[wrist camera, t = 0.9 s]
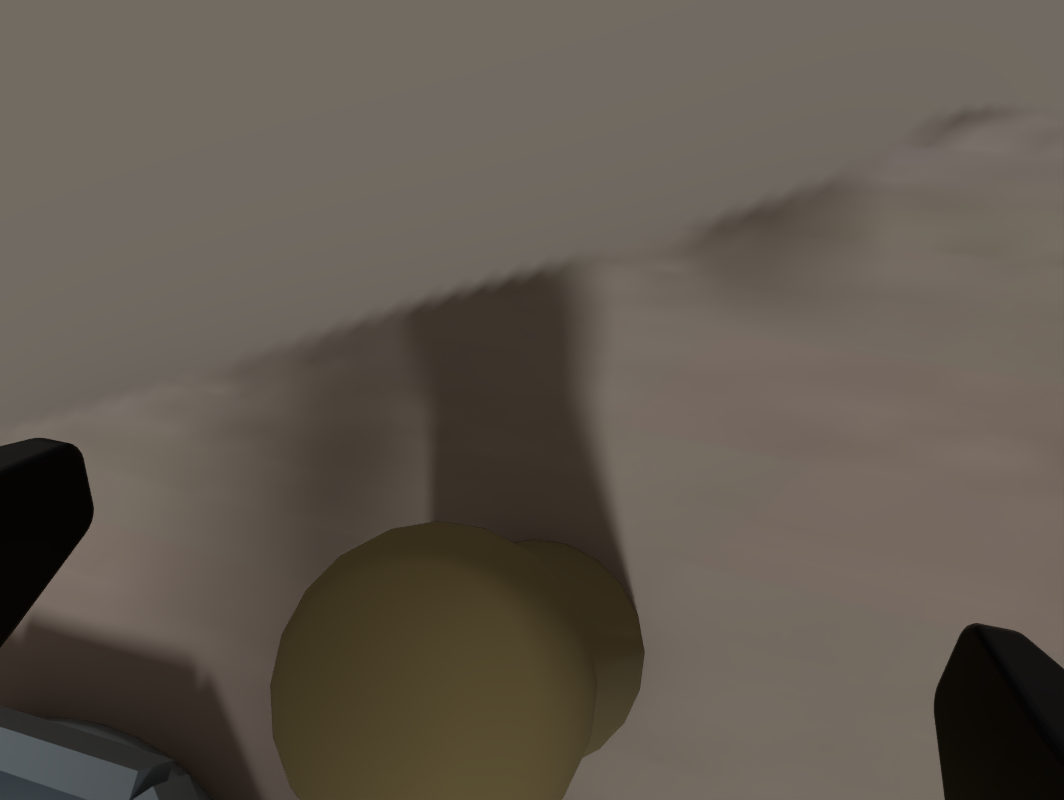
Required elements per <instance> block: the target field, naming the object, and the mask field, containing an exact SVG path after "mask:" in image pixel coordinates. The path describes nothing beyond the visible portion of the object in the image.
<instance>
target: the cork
mask: <svg viewBox="0 0 1064 800" xmlns="http://www.w3.org/2000/svg"><path fill="white" fill-rule="evenodd" d="M643 660H644V647H643V642H642V636H641V630H640V625H639V619H638V615H637V614H636V612H635V610H634V608H633V606H632V604H631V602H630V600H629V598H628V596H627V594H626V592H625V590H624V588H623V586H622V585H621V584H620V583H619V582H618V581H617V580H616V579H615V578H614V576H613V575H612V574H611V573H610V572H609V571H608V570H607V569H606V568H605V567H604V566H603V565H602V564H601V563H600V562H599V561H598V560H596V559H594V558H592V557H590V556H588V555H587V554H585V553H583V552H581V551H579V550H577V549H575V548H573V547H571V546H569V545H567V544H561V543H555V542H548V541H542V540H536V539H534V540H528V541H522V542H516V543H512V542H510V541H508V540H506V539H504V538H503V537H501V536H499V535H497V534H495V533H493V532H491V531H489V530H487V529H485V528H479V527H472V526H466V525H460V524H453V523H447V522H441V521H435V522H430V523H424V524H418V525H412V526H406V527H401V528H395V529H391V530H389V531H387V532H385V533H383V534H381V535H379V536H377V537H375V538H373V539H371V540H369V541H368V542H366V543H364V544H362V545H360V546H358V547H356V548H354V549H352V550H351V551H349V552H347V553H345V554H343V555H341V556H340V557H339V558H338V559H337V560H336V561H335V562H334V563H333V564H332V565H331V566H330V567H329V568H328V569H327V570H326V571H325V572H324V573H323V574H322V575H321V576H320V577H319V578H318V579H317V580H316V581H315V582H314V583H313V584H312V585H311V586H310V587H309V588H308V589H307V590H306V591H305V593H304V595H303V597H302V599H301V600H300V602H299V604H298V606H297V608H296V610H295V611H294V613H293V615H292V617H291V619H290V621H289V622H288V624H287V626H286V628H285V630H284V632H283V634H282V636H281V641H280V645H279V649H278V654H277V658H276V663H275V667H274V671H273V676H272V680H271V685H270V687H271V707H272V726H273V739H274V742H275V744H276V747H277V750H278V753H279V756H280V759H281V762H282V765H283V768H284V770H285V773H286V776H287V779H288V782H289V785H290V787H291V789H292V790H293V791H294V793H295V794H296V796H297V797H298V798H299V800H562V799H563V797H564V795H565V793H566V791H567V789H568V786H569V784H570V782H571V780H572V778H573V776H574V774H575V772H576V769H577V767H578V765H579V763H580V761H581V759H582V758H583V757H585V756H586V755H588V754H590V753H592V752H594V751H596V750H598V749H600V748H601V747H602V746H603V745H604V743H605V742H606V741H607V740H608V739H609V738H610V737H611V736H612V735H613V734H614V733H615V732H616V731H617V730H618V729H619V728H620V727H621V726H622V725H623V723H624V722H625V720H626V718H627V716H628V714H629V711H630V709H631V707H632V705H633V703H634V701H635V699H636V696H637V694H638V692H639V690H640V684H641V676H642V668H643Z"/></svg>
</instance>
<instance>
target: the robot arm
mask: <svg viewBox="0 0 1064 800" xmlns="http://www.w3.org/2000/svg"><path fill="white" fill-rule="evenodd" d="M93 513H94V506H93V501H92V496H91V491H90V486H89V482H88V477H87V472H86V468H85V463H84V458H83V455H82V453H81V452H80V450H79V449H78V448H77V447H76V446H74V445H73V444H70V443H66V442H61V441H56V440H51V439H46V438H33V439H28V440H24V441H20V442H16V443H12V444H8V445H4V446H0V647H1V646H2V645H3V644H4V642H5V641H6V640H7V638H8V637H9V636H10V635H11V633H12V632H13V631H14V629H15V628H16V627H17V625H18V624H19V623H20V621H21V620H22V619H23V617H24V616H25V615H26V613H27V612H28V611H29V609H30V608H31V607H32V605H33V604H34V602H35V601H36V600H37V598H38V597H39V596H40V594H41V593H42V592H43V590H44V589H45V588H46V586H47V585H48V583H49V582H50V581H51V579H52V578H53V577H54V575H55V574H56V573H57V571H58V570H59V569H60V567H61V566H62V565H63V563H64V562H65V560H66V559H67V558H68V556H69V555H70V554H71V552H72V551H73V550H74V548H75V547H76V546H77V544H78V543H79V542H80V540H81V539H82V537H83V536H84V535H85V533H86V532H87V530H88V529H89V527H90V524H91V522H92V519H93ZM934 717H935V725H936V733H937V741H938V749H939V757H940V765H941V773H942V781H943V789H944V797H945V800H1064V669H1063V668H1062V667H1061V666H1060V665H1059V664H1057V663H1056V662H1055V661H1054V660H1053V659H1052V658H1050V657H1049V656H1048V655H1047V654H1046V653H1044V652H1043V651H1042V650H1041V649H1040V648H1039V647H1037V646H1036V645H1035V644H1034V643H1033V642H1031V641H1030V640H1029V639H1028V638H1027V637H1025V636H1024V635H1023V634H1021V633H1019V632H1017V631H1014V630H1009V629H1004V628H999V627H994V626H989V625H984V624H979V623H974V624H971V625H968V626H967V627H966V628H965V629H964V630H963V631H962V633H961V634H960V636H959V638H958V640H957V643H956V645H955V647H954V649H953V652H952V654H951V656H950V658H949V661H948V663H947V665H946V667H945V670H944V672H943V674H942V676H941V679H940V681H939V683H938V686H937V688H936V693H935V698H934Z"/></svg>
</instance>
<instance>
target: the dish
mask: <svg viewBox="0 0 1064 800" xmlns="http://www.w3.org/2000/svg"><path fill="white" fill-rule="evenodd" d="M173 761H174V760H173V759H170V758H168V757H167V756H166V755H165V754H163V753H161V752H160V751H158V750H156V749H155V748H153V747H151V746H150V745H148V744H146V743H145V742H143V741H141V740H140V739H138V738H136V737H134V736H131V735H129V734H126V733H124V732H121V731H119V730H116V729H114V728H111V727H109V726H106V725H101V724H97V723H92V722H88V721H83V720H79V719H67V718H49V717H45V718H39V717H36V716H33V715H30V714H26V713H23V712H20V711H17V710H14V709H11V708H7V707H4V706H1V705H0V800H212V799H211V798H210V797H209V796H208V795H207V794H206V793H205V792H204V791H203V789H202V788H201V787H200V786H199V785H198V784H197V783H196V782H195V780H194V779H193V778H192V777H191V776H190V775H189V774H187V773H186V772H185V771H184V770H183V769H181V768H180V767H179V766H178V765H177V764H175V763H174V762H173Z"/></svg>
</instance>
